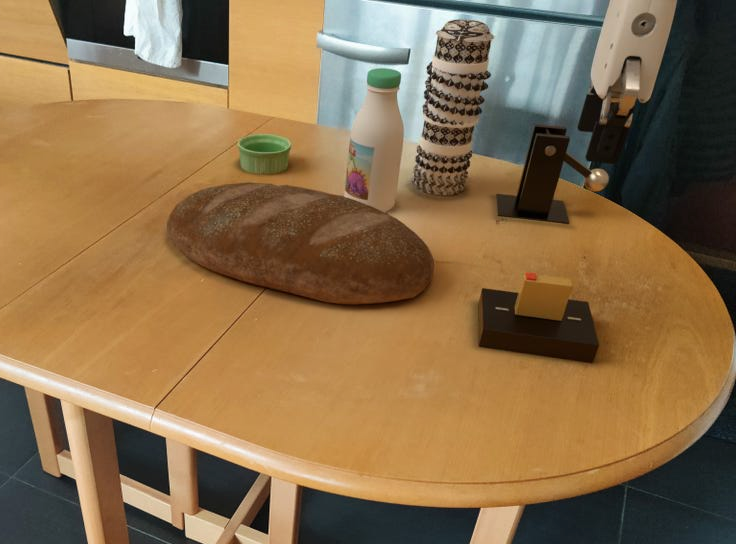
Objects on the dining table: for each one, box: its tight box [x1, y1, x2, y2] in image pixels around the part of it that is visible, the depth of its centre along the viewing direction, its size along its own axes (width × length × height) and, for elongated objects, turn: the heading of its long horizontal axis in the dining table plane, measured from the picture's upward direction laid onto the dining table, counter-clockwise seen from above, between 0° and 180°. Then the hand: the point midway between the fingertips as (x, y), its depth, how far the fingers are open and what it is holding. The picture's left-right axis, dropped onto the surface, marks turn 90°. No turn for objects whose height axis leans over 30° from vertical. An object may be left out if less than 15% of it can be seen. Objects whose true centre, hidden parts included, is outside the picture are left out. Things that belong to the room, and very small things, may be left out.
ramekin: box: [237, 133, 292, 175], centre depth 120 cm, size 9×9×4 cm
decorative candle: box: [411, 18, 495, 197], centre depth 107 cm, size 9×9×25 cm
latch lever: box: [542, 129, 610, 192], centre depth 102 cm, size 12×3×3 cm, turn 76°
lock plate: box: [477, 287, 600, 364], centre depth 81 cm, size 12×9×3 cm
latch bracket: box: [495, 123, 571, 225], centre depth 104 cm, size 10×8×13 cm
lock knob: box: [514, 271, 573, 321], centre depth 79 cm, size 5×2×5 cm, turn 76°
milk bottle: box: [343, 67, 405, 214], centre depth 103 cm, size 8×8×20 cm
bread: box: [165, 181, 436, 305], centre depth 93 cm, size 22×37×8 cm, turn 62°
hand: (595, 145), depth 78 cm, fingers open, 9 cm apart
